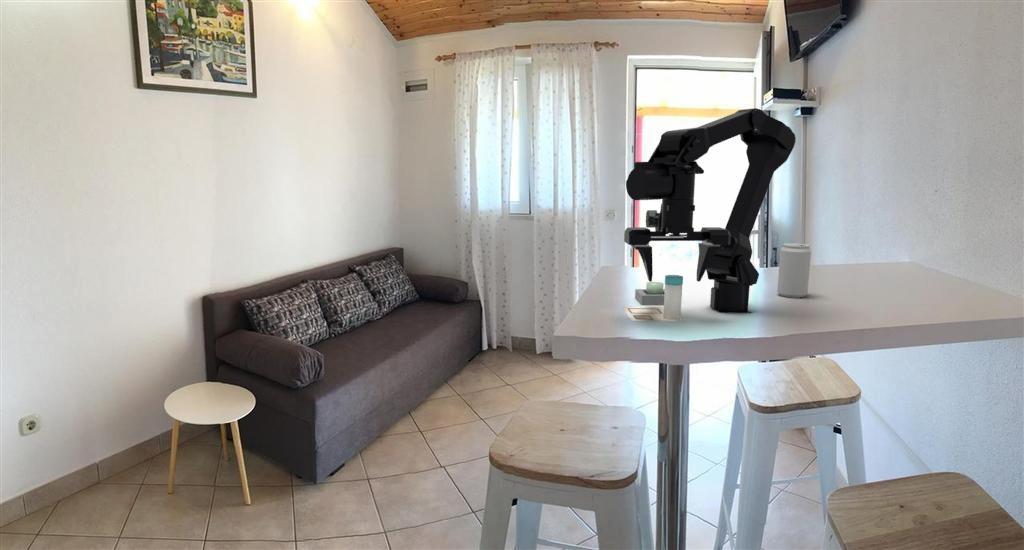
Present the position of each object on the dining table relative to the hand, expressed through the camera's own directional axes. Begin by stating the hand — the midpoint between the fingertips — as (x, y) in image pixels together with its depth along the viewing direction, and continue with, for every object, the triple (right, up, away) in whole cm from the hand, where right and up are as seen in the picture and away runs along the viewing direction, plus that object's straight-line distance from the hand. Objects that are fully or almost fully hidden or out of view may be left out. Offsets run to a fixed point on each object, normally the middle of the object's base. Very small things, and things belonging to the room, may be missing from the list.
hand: (674, 281), depth 114 cm
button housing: (0, -5, +16) cm, 17 cm away
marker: (0, -7, +1) cm, 7 cm away
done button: (0, -3, +16) cm, 16 cm away
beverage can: (+34, -4, +25) cm, 42 cm away
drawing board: (-3, -7, +5) cm, 9 cm away
